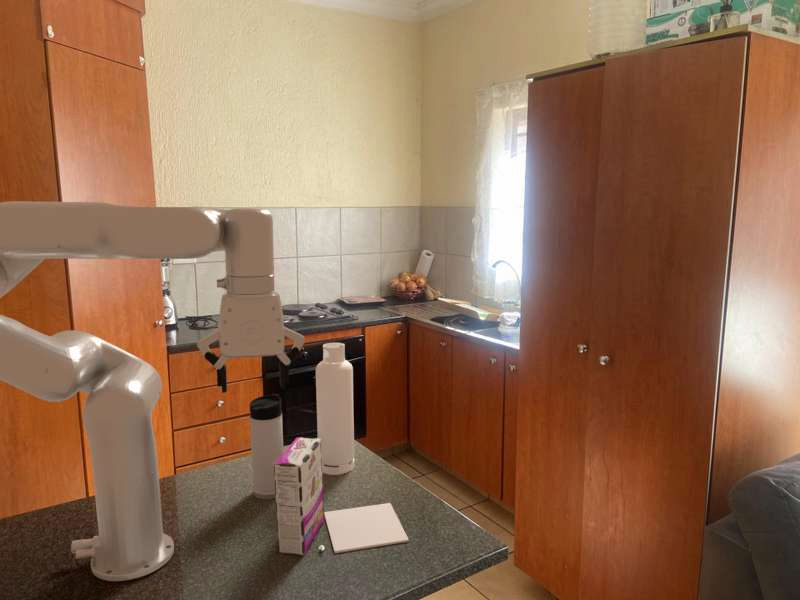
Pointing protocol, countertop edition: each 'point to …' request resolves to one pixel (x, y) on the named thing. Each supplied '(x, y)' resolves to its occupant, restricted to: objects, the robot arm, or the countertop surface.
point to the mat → (364, 527)
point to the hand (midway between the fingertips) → (253, 388)
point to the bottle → (335, 410)
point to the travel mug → (265, 443)
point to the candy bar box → (299, 495)
